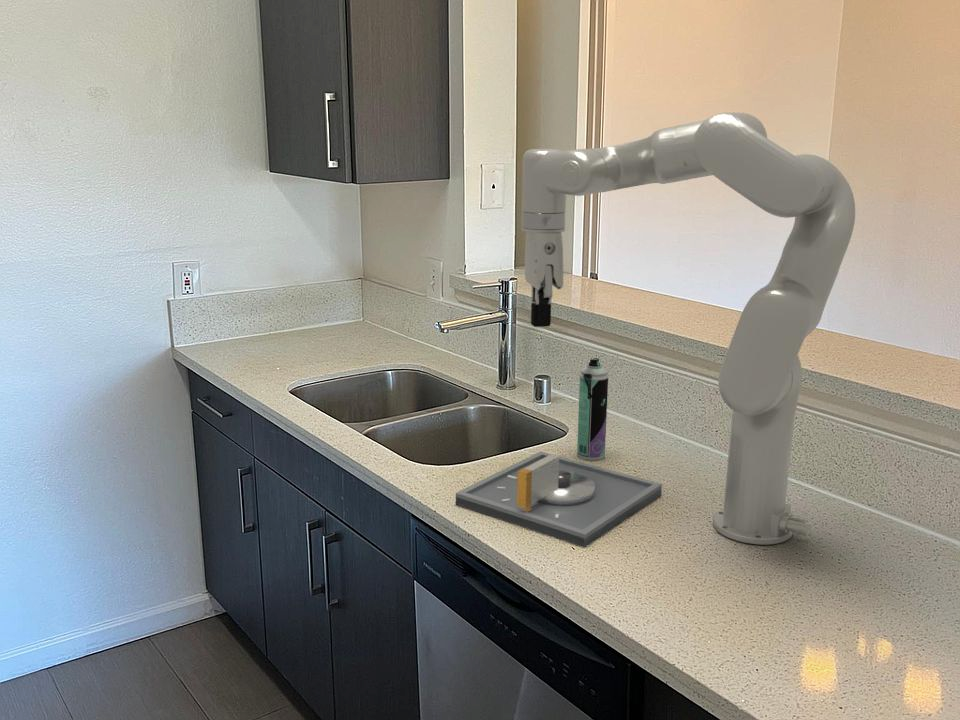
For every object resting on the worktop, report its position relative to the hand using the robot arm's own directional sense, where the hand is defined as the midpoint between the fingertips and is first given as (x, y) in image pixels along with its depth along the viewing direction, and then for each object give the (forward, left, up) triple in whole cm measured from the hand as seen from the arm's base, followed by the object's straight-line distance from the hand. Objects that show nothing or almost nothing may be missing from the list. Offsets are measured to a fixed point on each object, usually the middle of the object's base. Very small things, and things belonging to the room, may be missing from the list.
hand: (540, 325), depth 164 cm
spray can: (-2, -16, -29) cm, 33 cm away
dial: (-9, +9, -28) cm, 30 cm away
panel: (-9, +6, -29) cm, 31 cm away
